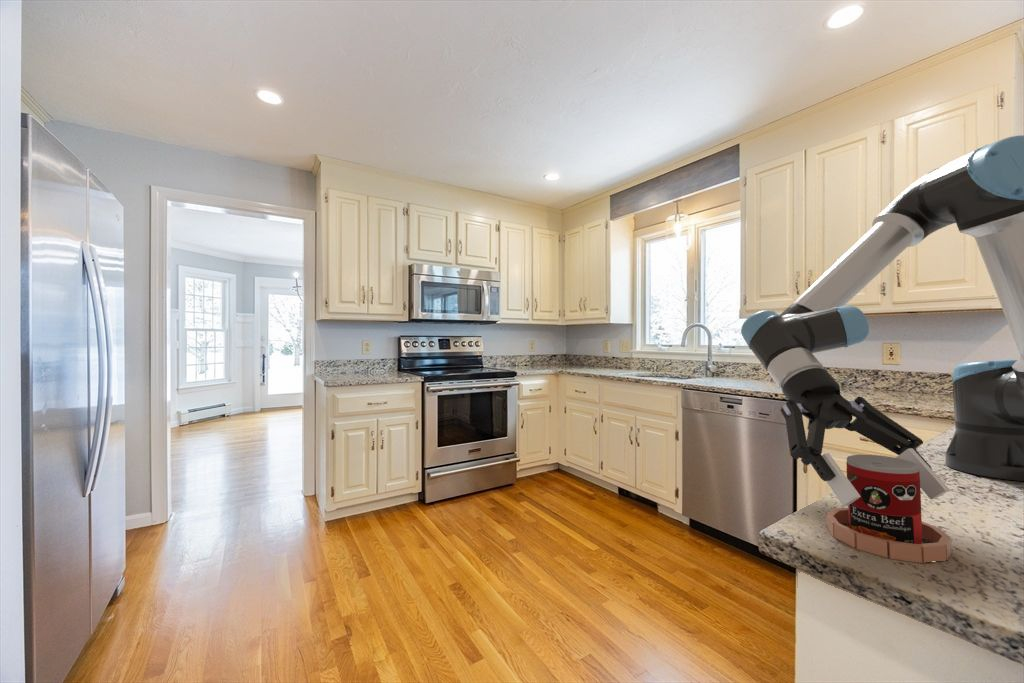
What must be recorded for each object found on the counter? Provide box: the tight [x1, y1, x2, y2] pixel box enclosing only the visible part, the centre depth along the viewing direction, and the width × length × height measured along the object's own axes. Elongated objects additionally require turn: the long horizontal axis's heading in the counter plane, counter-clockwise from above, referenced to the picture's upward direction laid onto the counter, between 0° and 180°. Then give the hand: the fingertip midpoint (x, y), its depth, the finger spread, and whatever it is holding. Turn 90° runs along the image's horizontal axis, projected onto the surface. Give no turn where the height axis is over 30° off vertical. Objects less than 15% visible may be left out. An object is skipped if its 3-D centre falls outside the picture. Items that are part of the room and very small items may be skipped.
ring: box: [826, 507, 952, 564], centre depth 58 cm, size 13×13×2 cm
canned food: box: [845, 454, 923, 544], centre depth 58 cm, size 8×8×11 cm
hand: (896, 498), depth 56 cm, fingers open, 13 cm apart
